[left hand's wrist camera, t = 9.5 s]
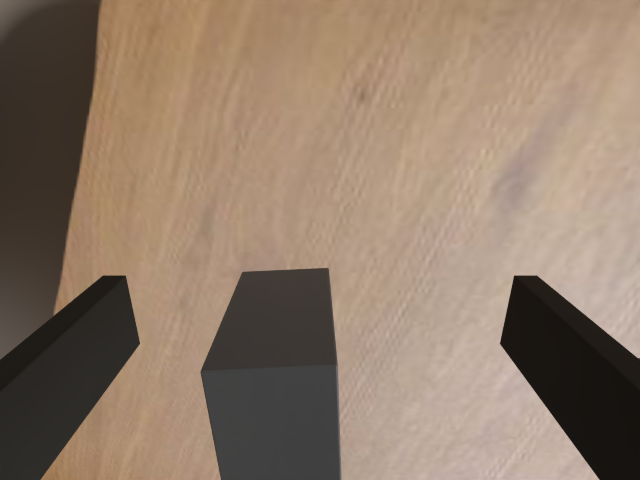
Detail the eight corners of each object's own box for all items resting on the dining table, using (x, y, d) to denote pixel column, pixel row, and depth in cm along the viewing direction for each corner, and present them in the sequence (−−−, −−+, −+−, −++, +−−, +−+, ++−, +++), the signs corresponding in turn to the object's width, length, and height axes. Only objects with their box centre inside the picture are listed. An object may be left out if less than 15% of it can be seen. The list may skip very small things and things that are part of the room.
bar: (241, 271, 23) (199, 371, 14) (328, 267, 23) (337, 365, 14) (274, 527, 31) (260, 687, 23) (338, 524, 31) (347, 683, 23)
